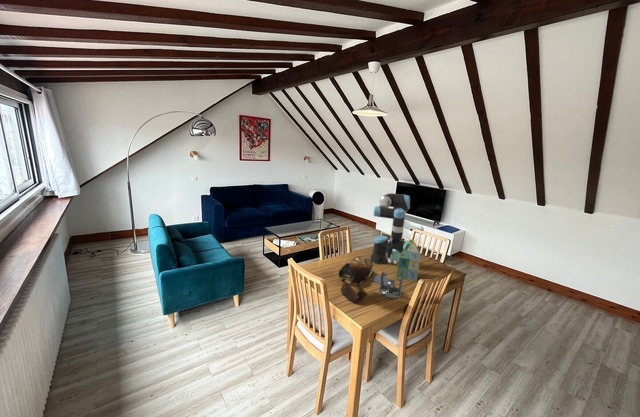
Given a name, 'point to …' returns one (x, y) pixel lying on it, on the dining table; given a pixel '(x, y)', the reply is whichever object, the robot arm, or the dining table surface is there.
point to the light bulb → (395, 256)
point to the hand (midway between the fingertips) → (393, 261)
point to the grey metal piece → (390, 288)
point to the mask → (347, 272)
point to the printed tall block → (409, 261)
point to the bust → (356, 278)
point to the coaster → (378, 279)
